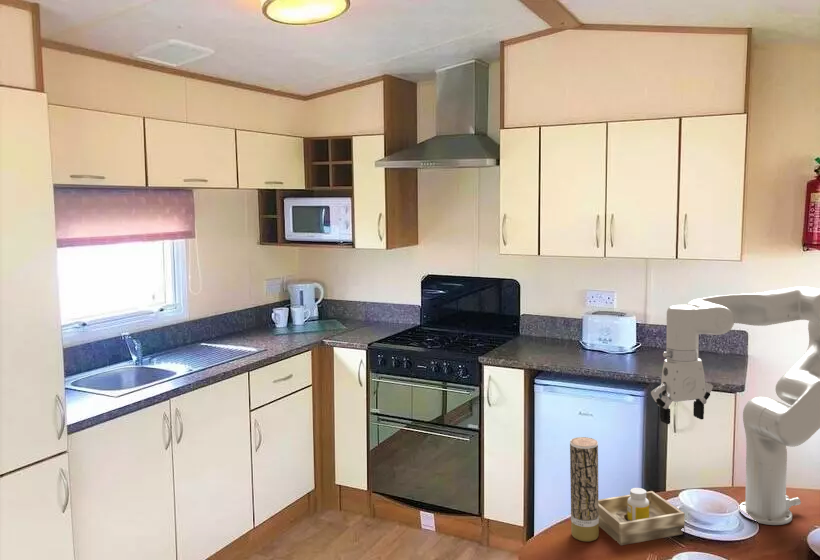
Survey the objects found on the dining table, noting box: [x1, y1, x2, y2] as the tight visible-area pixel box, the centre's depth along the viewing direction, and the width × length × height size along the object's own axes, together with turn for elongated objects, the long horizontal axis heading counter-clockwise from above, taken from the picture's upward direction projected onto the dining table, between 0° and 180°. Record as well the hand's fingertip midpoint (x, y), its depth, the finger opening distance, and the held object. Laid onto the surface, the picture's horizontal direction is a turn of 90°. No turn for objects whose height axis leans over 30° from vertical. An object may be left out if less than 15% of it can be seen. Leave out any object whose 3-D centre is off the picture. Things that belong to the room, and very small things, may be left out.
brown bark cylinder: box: [569, 436, 600, 543], centre depth 174 cm, size 7×7×25 cm
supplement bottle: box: [627, 487, 649, 521], centre depth 178 cm, size 5×5×10 cm
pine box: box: [598, 490, 686, 546], centre depth 179 cm, size 18×14×6 cm
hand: (682, 420), depth 175 cm, fingers open, 9 cm apart
